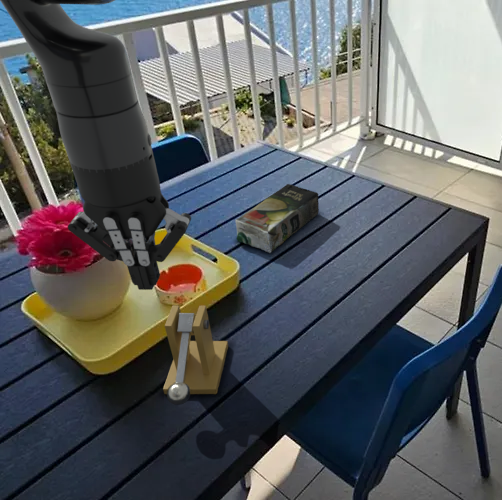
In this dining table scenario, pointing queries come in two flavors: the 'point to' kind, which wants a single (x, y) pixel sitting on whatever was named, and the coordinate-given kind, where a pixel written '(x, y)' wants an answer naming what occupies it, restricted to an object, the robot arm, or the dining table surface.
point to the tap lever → (182, 361)
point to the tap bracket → (196, 354)
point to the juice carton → (277, 217)
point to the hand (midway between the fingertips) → (148, 285)
